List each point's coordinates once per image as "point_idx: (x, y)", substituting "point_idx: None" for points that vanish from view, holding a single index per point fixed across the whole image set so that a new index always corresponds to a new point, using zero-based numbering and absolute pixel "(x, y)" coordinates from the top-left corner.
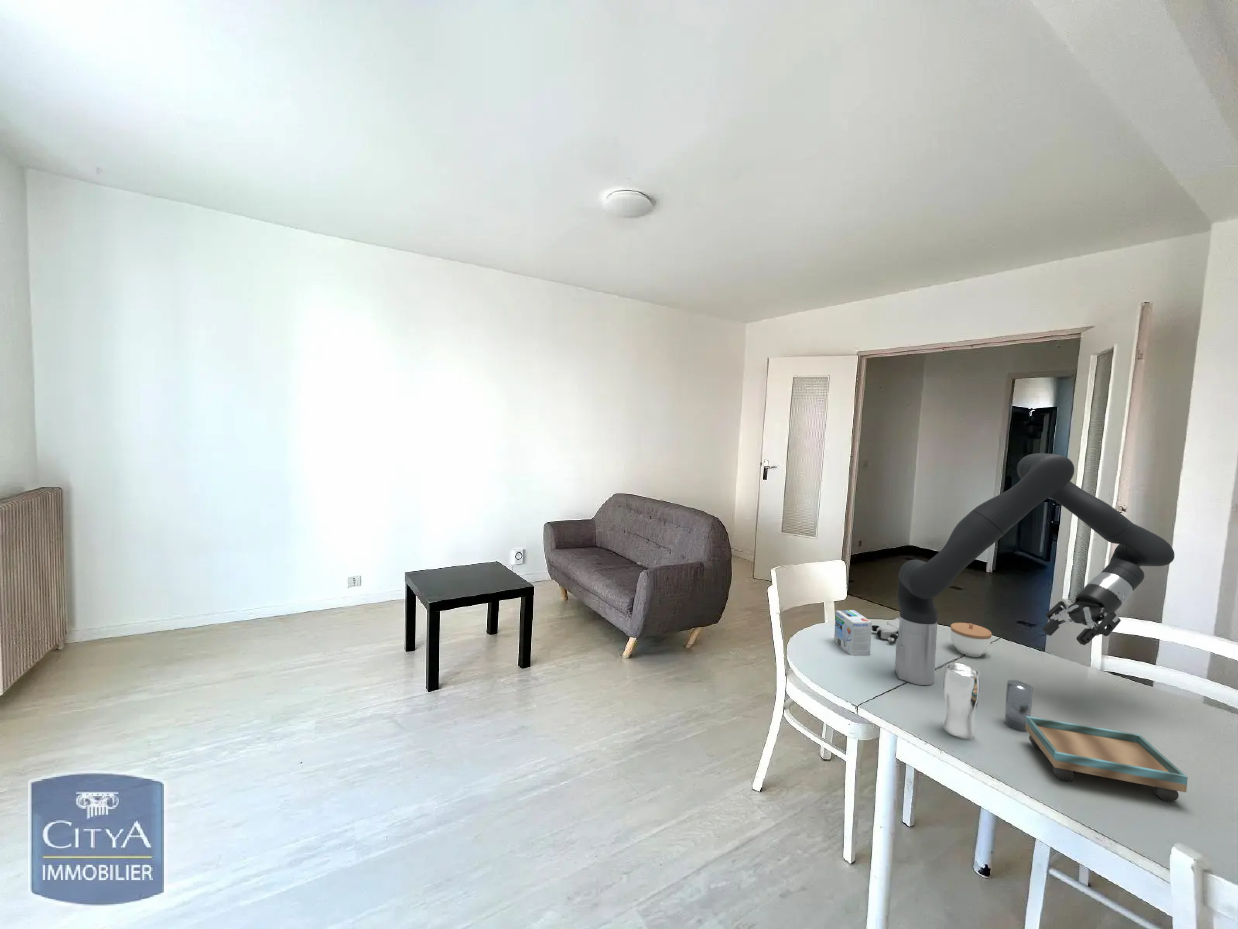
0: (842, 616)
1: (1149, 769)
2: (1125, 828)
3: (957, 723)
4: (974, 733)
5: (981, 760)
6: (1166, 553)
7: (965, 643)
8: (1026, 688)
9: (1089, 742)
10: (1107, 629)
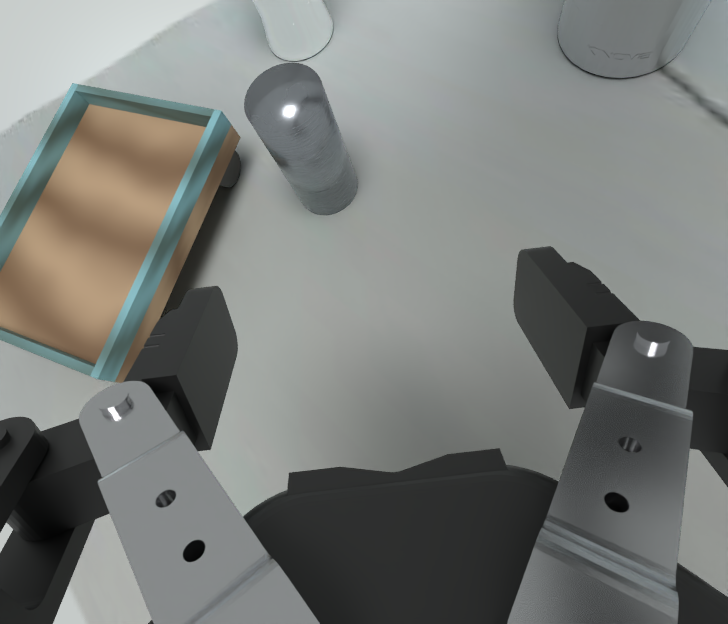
0: None
1: None
2: (12, 171)
3: None
4: (277, 51)
5: (199, 35)
6: None
7: None
8: (256, 104)
9: (131, 228)
10: (25, 571)
